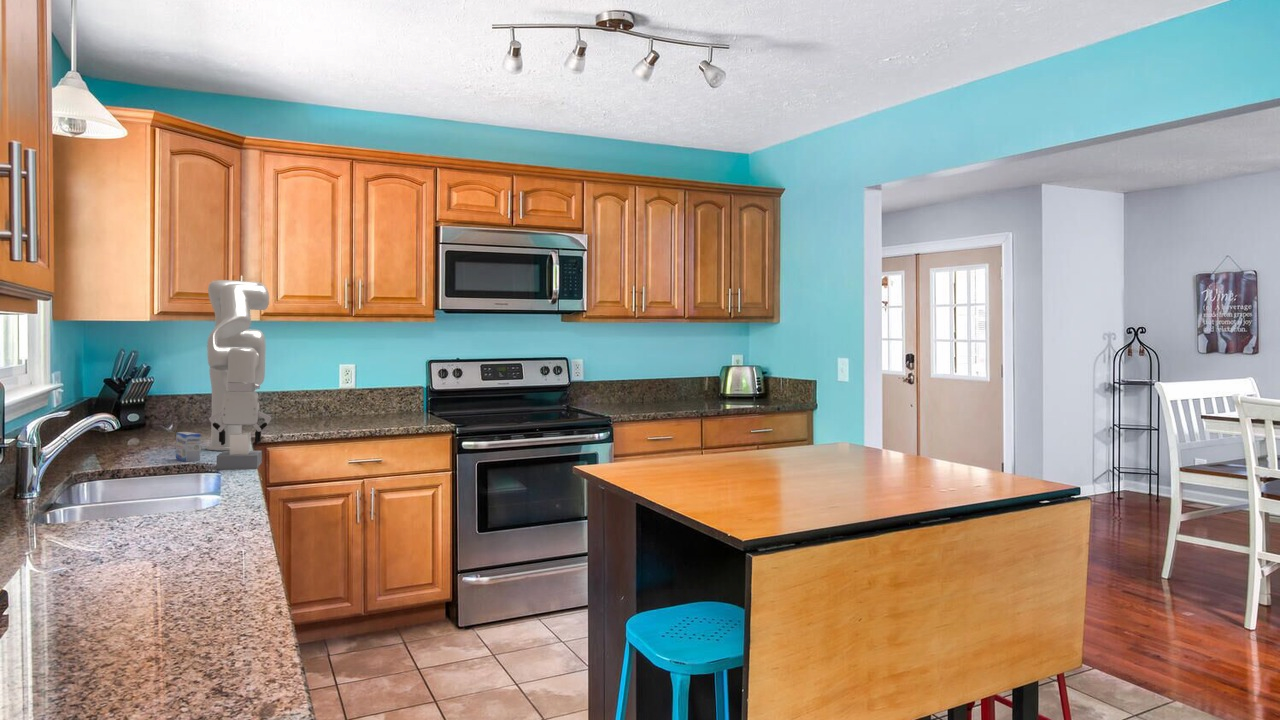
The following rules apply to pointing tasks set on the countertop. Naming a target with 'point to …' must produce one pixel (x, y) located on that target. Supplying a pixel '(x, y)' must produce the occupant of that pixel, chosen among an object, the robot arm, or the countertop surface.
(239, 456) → the plinth
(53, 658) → the countertop surface
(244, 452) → the cube
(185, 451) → the medicine box
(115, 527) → the countertop surface
